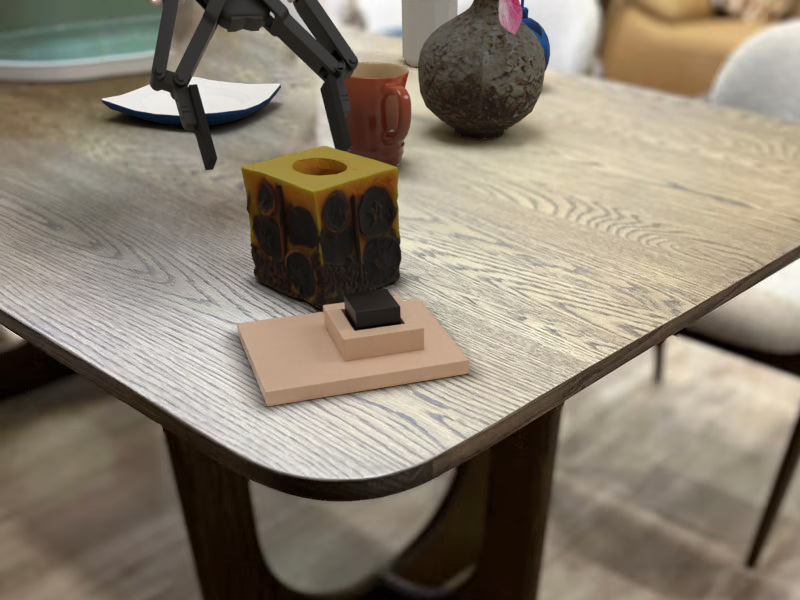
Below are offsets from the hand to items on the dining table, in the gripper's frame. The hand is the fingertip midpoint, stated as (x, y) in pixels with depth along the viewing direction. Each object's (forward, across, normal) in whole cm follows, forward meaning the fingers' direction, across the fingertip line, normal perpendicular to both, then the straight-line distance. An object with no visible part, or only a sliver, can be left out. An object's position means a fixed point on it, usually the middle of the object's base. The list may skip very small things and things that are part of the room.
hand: (280, 158), depth 82 cm
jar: (-34, +52, +60) cm, 87 cm away
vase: (-9, +38, +25) cm, 46 cm away
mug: (-4, +19, +18) cm, 26 cm away
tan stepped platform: (+22, -4, -18) cm, 28 cm away
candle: (+14, 0, -6) cm, 15 cm away
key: (+20, -3, -20) cm, 28 cm away
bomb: (-21, +56, +42) cm, 73 cm away
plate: (-24, +5, +47) cm, 53 cm away
